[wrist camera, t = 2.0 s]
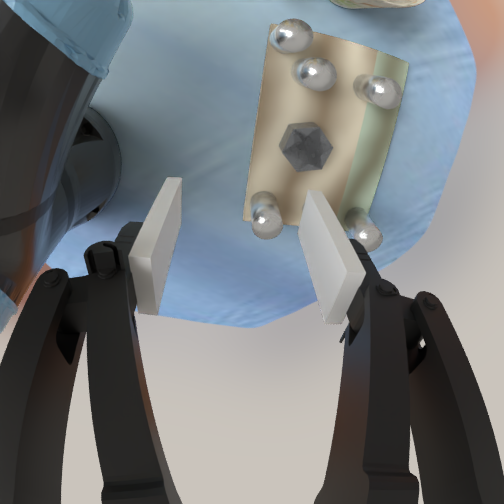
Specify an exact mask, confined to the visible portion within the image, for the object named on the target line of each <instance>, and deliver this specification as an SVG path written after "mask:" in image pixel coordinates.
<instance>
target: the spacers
mask: <svg viewBox="0 0 504 504" xmlns="http://www.w3.org/2000/svg"><path fill="white" fill-rule="evenodd" d="M269 42H270V45H271V46H272V48H273V49H274V50H275V51H277V52H279V53H282V54H289V53H294V52H300V51H303V50H305V49H307V48H308V47H309V46H310V45H311V44H312V42H313V31H312V29H311V27H310V26H309V25H308V24H307V23H306V22H304V21H302V20H299V19H287V20H285V21H283V22H282V23H280V24H279V25H278V26H277V27H276V28H275V29H274V30H273V31H272V32H271V34H270V37H269ZM291 76H292V78H293V80H294V81H295V82H296V83H297V84H299V85H301V86H304V87H307V88H310V89H312V90H315V91H325V90H328V89H330V88H331V87H332V86H333V85H334V84H335V82H336V79H337V72H336V69H335V67H334V65H333V64H332V63H331V62H330V61H329V60H327V59H325V58H321V57H314V58H302V59H299V60H297V61H295V62H294V64H293V65H292V67H291ZM353 91H354V93H355V95H356V96H357V97H358V98H360V99H361V100H364V101H367V102H369V103H372V104H374V105H377V106H379V107H382V108H384V109H393V108H395V107H397V106H398V105H399V103H400V102H401V99H402V90H401V87H400V85H399V84H398V83H397V82H396V81H395V80H394V79H391V78H387V77H382V76H377V75H371V74H361V75H359V76H357V77H356V78H355V80H354V82H353ZM304 205H305V203H304V204H303V207H302V213H303V209H304ZM250 210H251V221H252V230H253V232H254V234H255V235H256V236H257V237H259V238H261V239H273V238H275V237H277V236H278V235H279V234H280V233H281V231H282V229H283V222H282V219H281V215H280V211H279V207H278V204H277V200H276V197H275V196H274V195H273V194H272V193H270V192H268V191H260V192H257V193H256V194H254V195H253V196H252V198H251V200H250ZM344 222H345V224H346V226H347V228H348V229H349V231H350V233H351V235H352V237H353V238H354V239H356V240H357V241H358V242H360V243H361V244H362V245H363V246H364V248H365V249H366V251H367V252H371V251H374V250H375V249H377V248H378V247H379V246H380V244H381V243H382V239H383V237H382V234H381V232H380V231H379V229H378V228H377V226H376V225H375V224H374V222H373V221H372V219H371V218H370V217H369V215H368V214H367V213H366V211H365V210H364V209H363V208H361V207H354V208H352V209H350V210H349V211H348V212H347V213H346V214H345V217H344Z"/></svg>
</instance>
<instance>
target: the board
mask: <svg viewBox="0 0 504 504" xmlns="http://www.w3.org/2000/svg"><path fill="white" fill-rule="evenodd" d="M277 26H278V25H276V24H271V25H270V29H269V36H268V42H267V49H266V55H265V62H264V68H263V75H262V82H261V88H260V95H259V102H258V109H257V116H256V123H255V130H254V137H253V144H252V151H251V158H250V165H249V173H248V180H247V187H246V195H245V202H244V210H243V221H251V210H250V200H251V198H252V196H253V195H254V194H256V193H257V192H260V191H268V192H270V193H272V194H273V195H274V196H275V197H276V200H277V204H278V207H279V211H280V215H281V219H282V222H283V224H284V225H294V226H299V225H300V221H301V217H302V207H303V204H304V203H305V200H306V196H307V192H308V190H315V191H322V193H323V195H324V196H325V198H326V200H327V201H328V203H329V205H330V207H331V208H332V210H333V212H334V214H335V215H336V217H337V219H338V221H339V222H340V224H341V226H342V228H343V230H344V231H349V229H348V228H347V226H346V224H345V222H344V217H345V214H346V213H347V212H348V211H349V210H350V209H352V208H354V207H361V208H363V209H364V210H365V211H366V213H367V214H368V212H369V209H370V207H371V204H372V201H373V198H374V195H375V192H376V189H377V185H378V182H379V179H380V176H381V173H382V170H383V166H384V163H385V160H386V156H387V153H388V149H389V146H390V142H391V139H392V135H393V131H394V127H395V124H396V120H397V116H398V112H399V108H400V104H401V102H400V103H399V105H398V106H397V107H395V108H393V109H384V108H382V107H379V106H377V105H374V104H372V103H369V102H367V101H364V100H361V99H360V98H358V97H357V96H356V95H355V93H354V91H353V82H354V80H355V78H356V77H357V76H359V75H361V74H371V75H377V76H382V77H387V78H391V79H394V80H395V81H396V82H397V83H398V84H399V85H400V87H401V90H402V95H403V90H404V86H405V81H406V77H407V72H408V67H409V63H408V62H406V61H404V60H401V59H399V58H396V57H394V56H391V55H389V54H386V53H383V52H381V51H378V50H375V49H372V48H369V47H366V46H363V45H360V44H357V43H354V42H350V41H347V40H344V39H340V38H337V37H333V36H329V35H325V34H321V33H317V32H313V42H312V44H311V45H310V46H309V47H308V48H307V49H305V50H303V51H300V52H294V53H289V54H282V53H279V52H277V51H275V50H274V49H273V48H272V46H271V45H270V42H269V37H270V34H271V32H272V31H273V30H274V29H275V28H276V27H277ZM314 57H321V58H325V59H327V60H329V61H330V62H331V63H332V64H333V65H334V67H335V69H336V72H337V79H336V82H335V84H334V85H333V86H332V87H331V88H330V89H328V90H325V91H315V90H312V89H310V88H307V87H304V86H301V85H299V84H297V83H296V82H295V81H294V80H293V78H292V76H291V67H292V65H293V64H294V62H295V61H297V60H299V59H302V58H314ZM304 122H314V123H315V124H317V125H318V126H319V127H320V128H321V130H322V131H323V133H324V134H325V136H326V137H327V139H328V140H329V142H330V143H331V145H332V146H333V149H332V151H331V153H330V155H329V157H328V159H327V161H326V162H325V164H324V166H323V168H322V170H311V171H302V172H296V170H295V169H294V168H293V166H292V165H291V164H290V162H289V161H288V160H287V158H286V157H285V156H284V155H283V153H282V152H281V150H280V148H279V143H280V141H281V139H282V137H283V135H284V133H285V131H286V129H287V126H288V124H292V123H304ZM251 222H252V221H251Z"/></svg>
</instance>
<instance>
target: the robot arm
mask: <svg viewBox="0 0 504 504" xmlns="http://www.w3.org/2000/svg"><path fill="white" fill-rule="evenodd" d="M132 18H133V8H132V4H131V2H130V0H0V333H1V332H2V331H3V330H4V328H5V327H6V325H7V323H8V322H9V320H10V318H11V317H12V315H14V314H16V313H17V311H18V305H19V304H20V302H21V300H22V298H23V297H24V294H25V293H26V292H27V290H28V288H29V287H30V285H31V283H32V282H33V280H34V279H35V277H36V276H37V274H38V272H39V271H40V269H41V268H42V266H43V265H44V263H45V262H46V260H47V259H48V257H49V256H50V254H51V253H52V252H53V250H54V249H55V247H56V246H57V245H58V243H59V242H60V240H61V239H62V237H63V236H64V235H65V233H66V232H67V231H69V230H71V229H73V228H75V227H77V226H79V225H81V224H83V223H85V222H87V221H89V220H91V219H92V218H94V217H95V216H96V215H98V214H99V213H100V212H101V211H102V210H103V209H104V207H105V206H106V205H107V203H108V202H109V201H110V199H111V198H112V197H113V195H114V193H115V191H116V189H117V186H118V183H119V180H120V174H121V156H120V150H119V146H118V143H117V140H116V138H115V135H114V133H113V131H112V130H111V128H110V126H109V125H108V124H107V122H106V121H105V120H104V119H103V118H102V117H101V116H100V115H99V114H98V113H97V112H96V111H94V110H93V109H91V108H90V107H88V106H89V104H90V102H91V100H92V98H93V96H94V94H95V92H96V90H97V88H98V86H99V84H100V82H101V80H102V79H105V78H106V76H107V74H108V72H109V70H108V66H109V64H110V62H111V60H112V58H113V56H114V54H115V52H116V50H117V49H118V47H119V45H120V43H121V41H122V39H123V37H124V36H125V34H126V32H127V30H128V29H129V27H130V25H131V22H132ZM181 200H182V178H180V177H167V178H166V180H165V182H164V184H163V186H162V188H161V190H160V192H159V193H158V195H157V197H156V199H155V201H154V203H153V205H152V207H151V209H150V211H149V213H148V215H147V217H146V219H145V221H144V222H129V223H128V224H126V225H125V226H124V227H122V229H121V230H120V232H119V234H118V236H117V238H116V240H115V242H112V241H101V242H97V243H95V244H93V245H91V246H89V247H88V248H87V249H86V251H85V253H84V259H85V263H86V266H87V270H88V274H89V275H86V276H82V277H75V278H69V277H68V274H67V272H66V271H65V270H63V269H59V268H55V269H50V270H48V271H45V272H44V273H43V274H41V275H40V277H39V278H38V279H37V281H36V283H35V285H34V287H33V289H32V291H31V293H30V295H29V297H28V299H27V301H26V303H25V305H24V308H23V310H22V312H21V314H20V316H19V318H18V321H17V323H16V325H15V328H14V330H13V333H12V335H11V338H10V340H9V343H8V345H7V348H6V351H5V353H4V356H3V359H2V362H1V364H0V504H61V482H62V481H61V480H62V465H63V454H64V444H65V436H66V428H67V421H68V414H69V408H70V402H71V397H72V392H73V386H74V381H75V377H76V372H77V368H78V362H79V359H80V354H81V351H82V346H83V342H84V338H85V335H86V332H87V360H88V361H87V363H88V380H89V393H90V403H91V412H92V420H93V427H94V434H95V440H96V446H97V451H98V457H99V462H100V467H101V472H102V476H103V481H104V487H103V490H102V492H101V501H102V504H182V502H181V500H180V497H179V495H178V493H177V491H176V488H175V486H174V483H173V480H172V477H171V474H170V471H169V467H168V465H167V461H166V458H165V455H164V452H163V448H162V444H161V441H160V437H159V434H158V430H157V426H156V423H155V419H154V415H153V410H152V406H151V402H150V397H149V393H148V389H147V384H146V379H145V374H144V369H143V363H142V358H141V352H140V346H139V340H138V334H137V327H136V320H135V316H134V311H135V308H136V305H137V308H138V313H141V314H149V315H158V312H159V307H160V303H161V299H162V295H163V291H164V286H165V282H166V278H167V274H168V271H169V267H170V263H171V259H172V255H173V252H174V248H175V244H176V241H177V237H178V234H179V230H180V227H181ZM297 234H298V237H299V240H300V243H301V246H302V249H303V253H304V256H305V259H306V262H307V266H308V269H309V272H310V276H311V279H312V282H313V286H314V289H315V293H316V296H317V299H318V303H319V306H320V309H321V313H322V317H323V321H324V324H342V322H343V320H344V318H345V316H346V314H347V317H348V319H349V324H348V326H347V328H346V329H345V331H344V333H343V335H342V337H341V339H340V343H342V341H343V340H344V338H345V345H344V356H343V367H342V377H341V384H340V394H339V401H338V408H337V415H336V421H335V427H334V434H333V440H332V446H331V451H330V456H329V461H328V467H327V471H326V476H325V480H324V484H323V487H322V489H321V490H320V492H319V493H318V495H317V497H316V499H315V501H314V504H418V497H419V482H418V479H417V477H416V476H414V475H413V474H412V473H410V471H409V449H410V426H411V430H412V435H413V440H414V445H415V450H416V455H417V462H418V468H419V474H420V480H421V487H422V495H423V501H424V504H504V475H503V470H502V465H501V461H500V456H499V451H498V447H497V443H496V440H495V436H494V432H493V429H492V425H491V422H490V419H489V415H488V412H487V409H486V406H485V403H484V400H483V397H482V394H481V392H480V389H479V386H478V383H477V381H476V378H475V376H474V373H473V370H472V368H471V365H470V363H469V361H468V358H467V356H466V354H465V351H464V349H463V347H462V344H461V342H460V340H459V338H458V336H457V334H456V331H455V329H454V327H453V325H452V323H451V321H450V319H449V317H448V315H447V313H446V311H445V309H444V307H443V305H442V303H441V302H440V300H439V299H438V298H437V297H436V296H435V295H433V294H431V293H429V292H425V291H422V292H419V293H418V294H417V295H416V297H415V299H411V298H407V297H404V296H401V295H400V294H399V291H398V289H397V288H396V287H395V285H393V284H392V283H391V282H389V281H387V280H384V279H381V277H380V275H379V273H378V271H377V269H376V267H375V265H374V264H373V262H372V261H371V258H370V256H369V255H368V253H367V251H366V249H365V248H364V246H363V245H362V244H361V243H360V242H358V241H357V240H356V239H348V237H347V235H346V233H345V232H344V230H343V228H342V226H341V224H340V222H339V221H338V219H337V217H336V215H335V214H334V212H333V210H332V208H331V207H330V205H329V203H328V201H327V200H326V198H325V196H324V195H323V193H322V191H315V190H308V192H307V196H306V200H305V205H304V209H303V213H302V217H301V221H300V225H299V229H298V233H297ZM422 339H424V341H425V346H424V347H423V348H422V347H421V345H420V342H421V340H422Z"/></svg>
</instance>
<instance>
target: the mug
mask: <svg viewBox="0 0 504 504" xmlns="http://www.w3.org/2000/svg"><path fill="white" fill-rule="evenodd" d="M330 1H331V2H333V3H334V4H336V5H338V6H341V7H344V8H349V9H361V8H406V7H413V6H416V5H419V4H421V3H423V2H424V1H425V0H330Z"/></svg>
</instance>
